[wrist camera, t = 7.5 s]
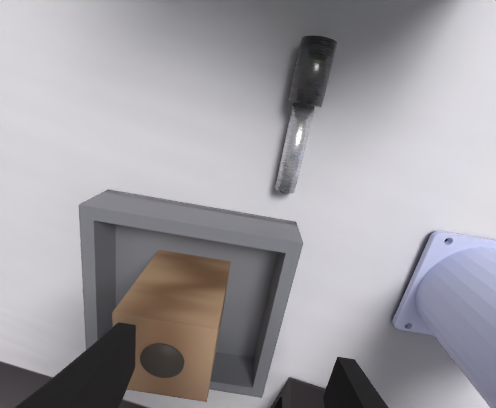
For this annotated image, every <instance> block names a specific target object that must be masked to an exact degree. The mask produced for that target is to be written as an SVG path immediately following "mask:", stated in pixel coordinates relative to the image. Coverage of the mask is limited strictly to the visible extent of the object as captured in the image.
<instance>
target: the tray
mask: <svg viewBox="0 0 496 408" xmlns="http://www.w3.org/2000/svg"><path fill="white" fill-rule="evenodd" d="M79 219H80V238H81V258H82V277H83V297H84V316H85V336H86V350H87V349H88V348H89V347H90V346H92V345H93V344H94V343H95V342H96V341H97V340H98V339H100V338H101V337H102V336H103V335H104V334H105V333H106V332H108V331H109V330H110V329H111V328H112V327H113V324H112V312H113V311H114V310H115V308H116V307H117V306H118V304H119V303H120V302H121V300H122V299H123V298H124V296H125V295H126V293H127V292H128V291H129V289H130V288H131V287H132V285H133V284H134V283H135V281H136V280H137V279H138V277H139V276H140V274H141V273H142V272H143V270H144V269H145V268H146V266H147V265H148V264H149V262H150V261H151V260H152V258H153V257H154V255H155V254H156V253H157V251H158V250H164V251H170V252H176V253H182V254H189V255H195V256H201V257H207V258H213V259H219V260H226V261H231V264H230V271H229V277H228V283H227V290H226V296H225V302H224V309H223V315H222V321H221V326H220V332H219V337H218V343H217V348H216V353H215V359H214V364H213V370H212V375H211V381H210V386H209V389H212V390H218V391H224V392H230V393H236V394H242V395H248V396H255V397H261V398H262V395H263V392H264V388H265V384H266V380H267V377H268V373H269V369H270V365H271V362H272V358H273V354H274V350H275V347H276V343H277V339H278V335H279V332H280V328H281V324H282V320H283V317H284V313H285V309H286V305H287V302H288V298H289V294H290V290H291V287H292V283H293V279H294V275H295V272H296V268H297V264H298V260H299V257H300V253H301V249H302V245H303V241H302V238H301V235H300V232H299V229H298V226H297V223H296V222H293V221H287V220H282V219H276V218H270V217H264V216H258V215H253V214H247V213H241V212H235V211H229V210H224V209H218V208H212V207H206V206H200V205H195V204H189V203H183V202H177V201H171V200H166V199H160V198H154V197H148V196H142V195H137V194H131V193H125V192H119V191H113V190H107V191H105V192H103V193H101V194H99V195H97V196H95V197H93V198H91V199H89V200H87V201H85V202H83V203H81V204H79Z"/></svg>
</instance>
